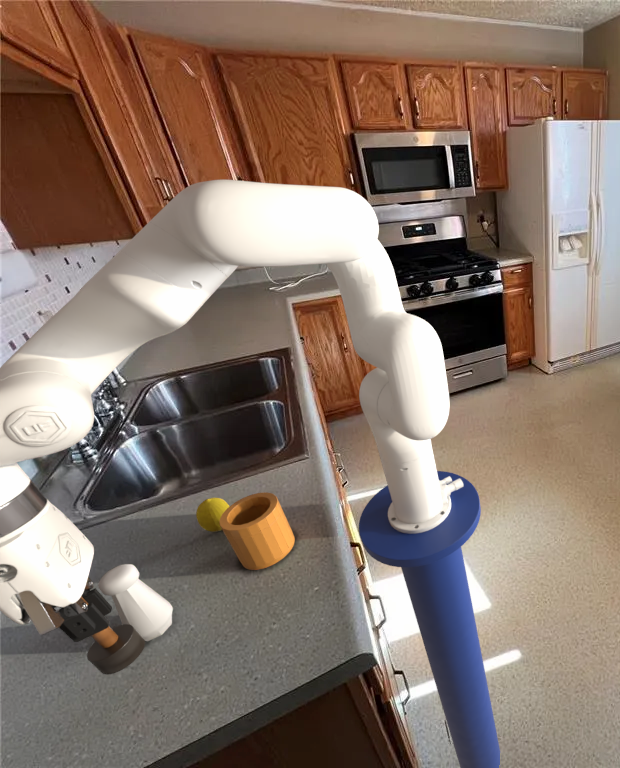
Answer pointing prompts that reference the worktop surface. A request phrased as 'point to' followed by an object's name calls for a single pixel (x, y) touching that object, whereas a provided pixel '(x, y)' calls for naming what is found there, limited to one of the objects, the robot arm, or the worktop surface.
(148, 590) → the salt shaker
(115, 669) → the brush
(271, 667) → the worktop surface
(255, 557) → the jar
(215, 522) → the lemon
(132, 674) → the worktop surface
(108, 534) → the worktop surface
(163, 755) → the worktop surface
